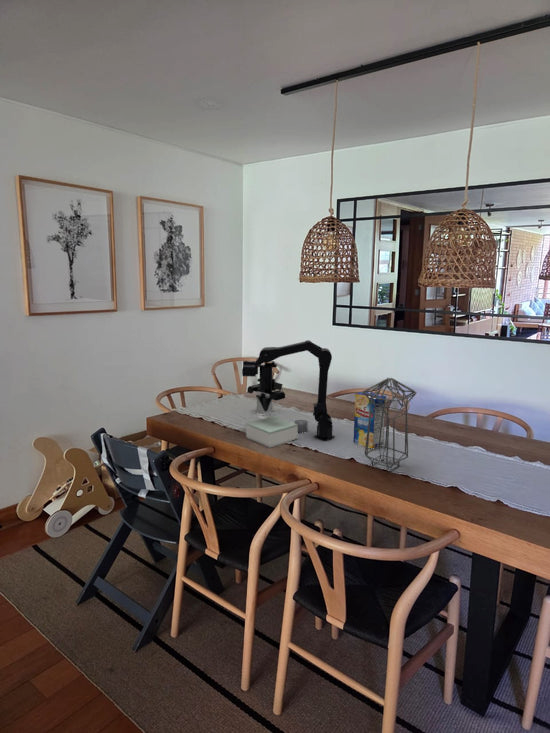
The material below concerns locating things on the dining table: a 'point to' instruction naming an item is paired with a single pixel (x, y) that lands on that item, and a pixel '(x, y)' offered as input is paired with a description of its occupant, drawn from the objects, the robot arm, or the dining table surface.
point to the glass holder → (261, 410)
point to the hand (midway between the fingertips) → (265, 411)
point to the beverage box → (363, 419)
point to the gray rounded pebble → (302, 425)
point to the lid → (271, 424)
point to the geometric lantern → (380, 386)
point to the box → (271, 436)
